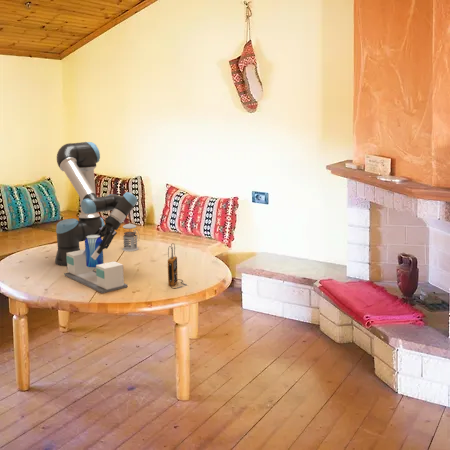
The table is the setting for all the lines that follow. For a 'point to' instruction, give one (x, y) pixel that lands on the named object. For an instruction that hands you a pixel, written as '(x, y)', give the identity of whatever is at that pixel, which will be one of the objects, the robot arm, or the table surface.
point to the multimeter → (172, 269)
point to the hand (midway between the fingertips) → (88, 256)
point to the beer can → (90, 247)
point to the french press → (130, 238)
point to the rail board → (95, 273)
